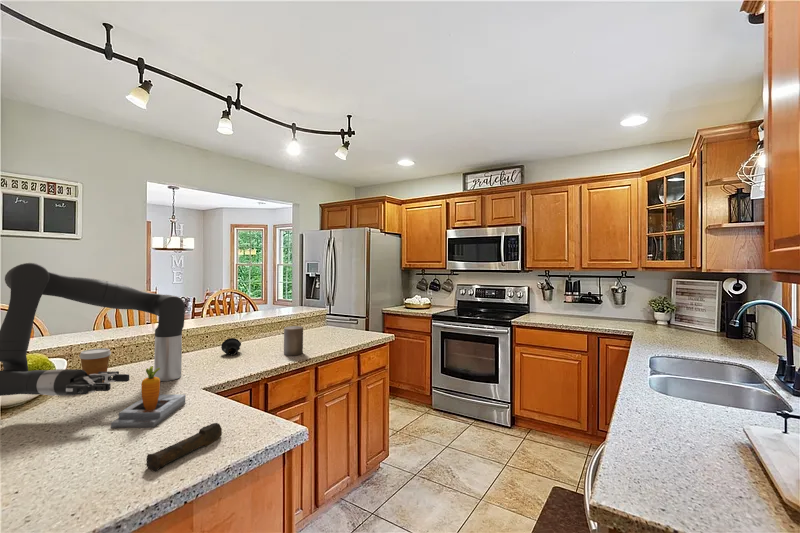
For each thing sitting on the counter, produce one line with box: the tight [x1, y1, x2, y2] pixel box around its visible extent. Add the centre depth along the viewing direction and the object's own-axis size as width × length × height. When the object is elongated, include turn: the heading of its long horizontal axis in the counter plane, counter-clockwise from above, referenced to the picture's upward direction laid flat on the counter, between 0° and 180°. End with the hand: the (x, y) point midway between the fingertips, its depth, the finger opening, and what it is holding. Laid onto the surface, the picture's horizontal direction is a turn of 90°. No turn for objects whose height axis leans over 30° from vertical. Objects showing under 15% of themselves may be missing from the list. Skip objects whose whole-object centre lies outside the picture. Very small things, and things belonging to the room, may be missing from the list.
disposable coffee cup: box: [78, 347, 112, 383], centre depth 142 cm, size 10×10×12 cm
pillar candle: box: [283, 325, 304, 357], centre depth 193 cm, size 10×10×15 cm
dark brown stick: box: [146, 422, 223, 472], centre depth 92 cm, size 19×4×5 cm, turn 153°
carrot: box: [141, 365, 161, 410], centre depth 114 cm, size 5×5×15 cm
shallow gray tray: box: [110, 393, 186, 429], centre depth 114 cm, size 18×12×3 cm, turn 5°
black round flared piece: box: [220, 337, 242, 356], centre depth 192 cm, size 9×11×18 cm
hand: (119, 382), depth 113 cm, fingers open, 8 cm apart
